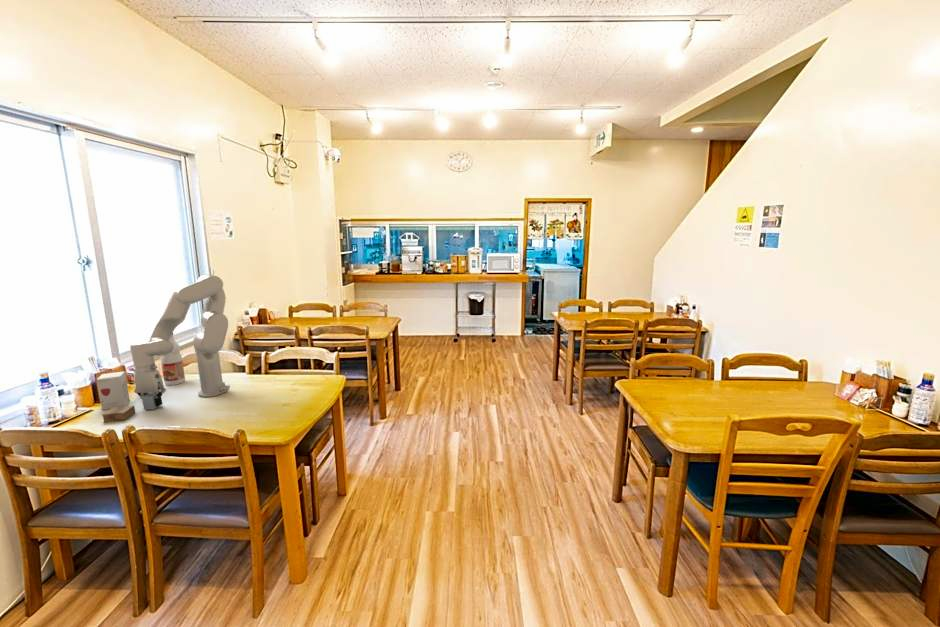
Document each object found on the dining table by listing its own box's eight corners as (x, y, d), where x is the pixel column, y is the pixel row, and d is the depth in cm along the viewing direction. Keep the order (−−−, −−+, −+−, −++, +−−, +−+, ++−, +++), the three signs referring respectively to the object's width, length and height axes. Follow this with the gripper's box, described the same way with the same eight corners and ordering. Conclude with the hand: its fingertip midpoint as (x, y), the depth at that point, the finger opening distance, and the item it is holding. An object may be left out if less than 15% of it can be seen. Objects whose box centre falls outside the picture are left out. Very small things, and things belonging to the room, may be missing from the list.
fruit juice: (188, 381, 230) (180, 332, 225) (167, 386, 223) (159, 335, 218) (182, 378, 236) (174, 330, 231) (162, 383, 228) (154, 333, 223)
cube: (162, 404, 197) (160, 392, 195) (154, 408, 192) (151, 396, 190) (152, 404, 197) (150, 392, 196) (143, 409, 192) (141, 396, 191)
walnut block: (135, 413, 189) (134, 405, 188) (125, 421, 181) (124, 412, 181) (115, 415, 187) (113, 407, 187) (104, 423, 180) (102, 414, 179)
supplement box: (101, 410, 193) (95, 379, 190) (106, 403, 201) (101, 373, 198) (125, 406, 197) (120, 376, 194) (130, 400, 205) (125, 370, 202)
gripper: (169, 365, 194) (176, 402, 197) (134, 366, 195) (142, 402, 198) (156, 370, 186) (164, 408, 190) (120, 371, 187) (129, 409, 191)
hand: (153, 405), depth 194 cm, fingers closed on cube, 5 cm apart
